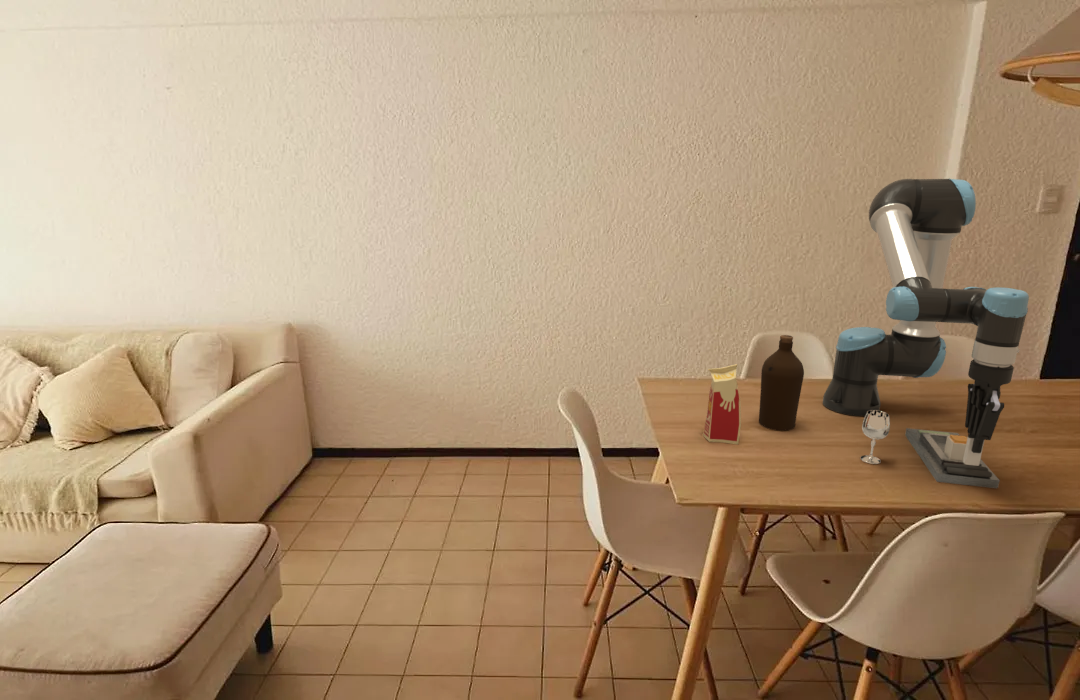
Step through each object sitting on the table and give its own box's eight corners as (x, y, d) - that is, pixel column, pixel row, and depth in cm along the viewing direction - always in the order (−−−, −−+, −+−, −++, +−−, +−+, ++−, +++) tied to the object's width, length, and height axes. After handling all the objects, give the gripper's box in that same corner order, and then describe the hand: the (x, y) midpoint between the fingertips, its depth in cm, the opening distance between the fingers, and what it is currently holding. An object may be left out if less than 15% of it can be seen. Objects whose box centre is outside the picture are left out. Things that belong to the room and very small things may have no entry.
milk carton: (736, 430, 169) (743, 359, 163) (740, 444, 160) (747, 370, 155) (701, 427, 171) (707, 357, 165) (703, 441, 162) (709, 368, 156)
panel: (936, 481, 142) (939, 468, 141) (905, 435, 166) (907, 423, 165) (997, 488, 139) (1000, 475, 138) (956, 440, 163) (958, 428, 162)
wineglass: (855, 461, 151) (863, 415, 148) (858, 452, 156) (865, 407, 153) (882, 467, 148) (891, 420, 145) (884, 458, 153) (892, 412, 150)
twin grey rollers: (948, 474, 141) (949, 468, 141) (942, 467, 144) (943, 461, 144) (992, 479, 139) (993, 473, 138) (986, 471, 142) (987, 466, 142)
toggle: (949, 462, 146) (953, 440, 144) (943, 455, 150) (947, 433, 148) (968, 465, 145) (973, 442, 143) (962, 457, 149) (967, 435, 147)
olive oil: (794, 435, 166) (805, 344, 159) (752, 427, 171) (761, 338, 164) (799, 421, 175) (810, 334, 168) (760, 413, 180) (769, 329, 173)
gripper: (1027, 373, 126) (1002, 479, 132) (1000, 354, 138) (978, 453, 144) (984, 370, 128) (962, 475, 134) (961, 352, 140) (941, 449, 146)
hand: (970, 463), depth 139 cm, fingers closed
